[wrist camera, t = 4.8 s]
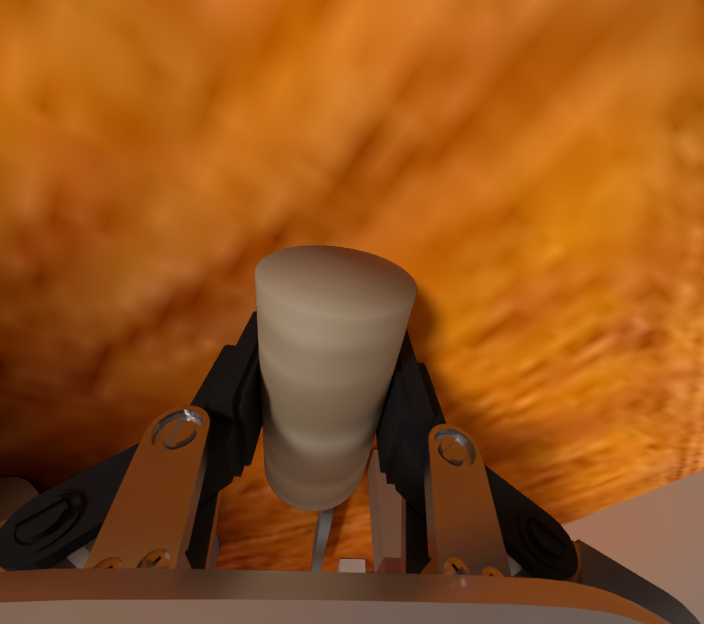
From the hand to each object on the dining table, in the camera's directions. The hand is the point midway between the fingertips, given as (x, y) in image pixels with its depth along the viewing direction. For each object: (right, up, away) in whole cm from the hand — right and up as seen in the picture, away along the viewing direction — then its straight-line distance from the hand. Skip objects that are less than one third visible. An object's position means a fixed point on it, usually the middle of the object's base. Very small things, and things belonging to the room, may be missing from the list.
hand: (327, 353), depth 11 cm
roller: (0, 0, 0) cm, 0 cm away
